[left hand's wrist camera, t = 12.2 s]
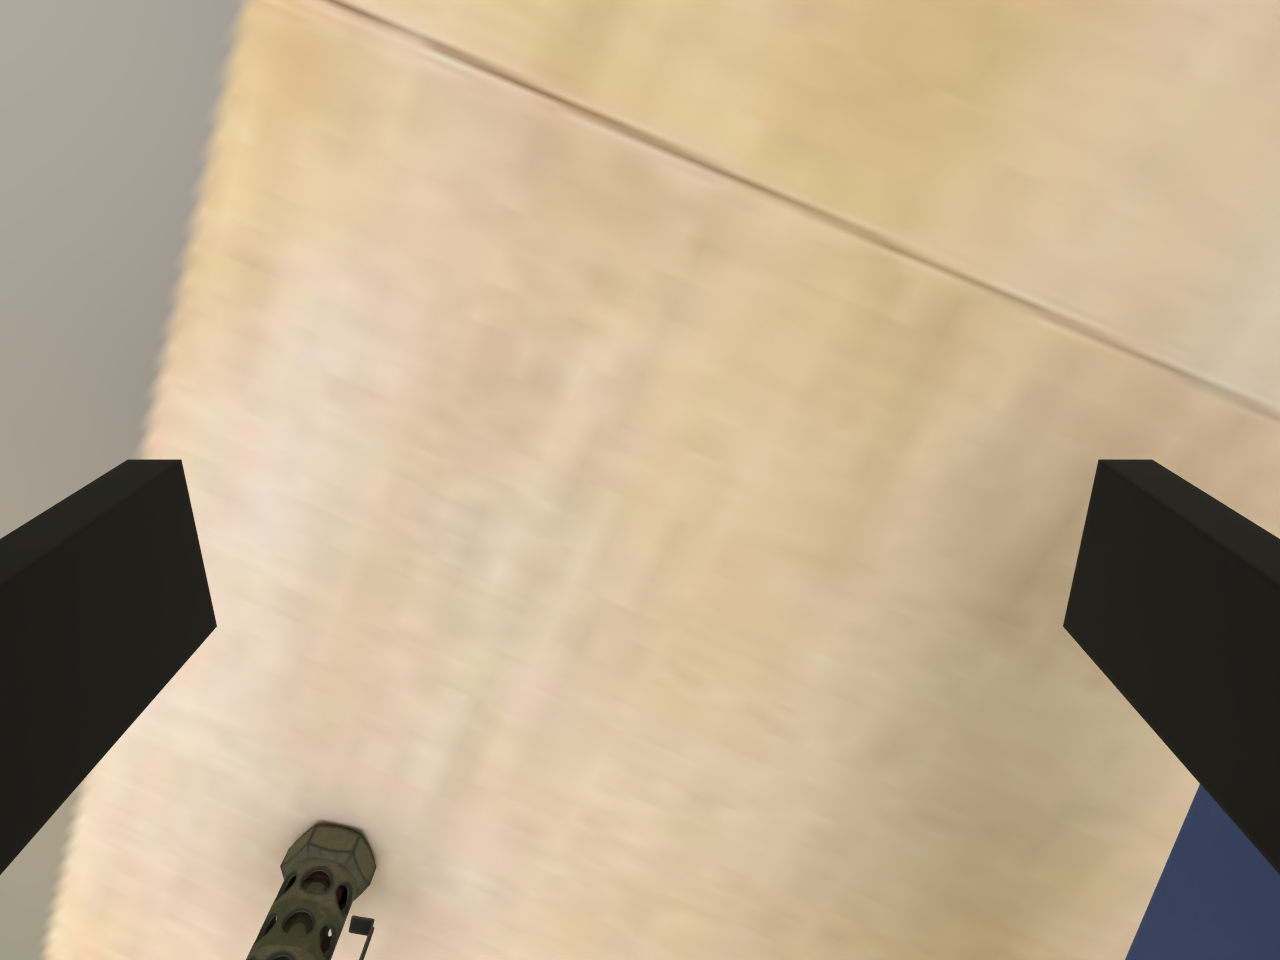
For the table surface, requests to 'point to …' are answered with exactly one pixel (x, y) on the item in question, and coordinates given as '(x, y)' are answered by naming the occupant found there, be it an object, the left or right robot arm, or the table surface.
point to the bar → (1212, 895)
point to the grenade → (317, 896)
